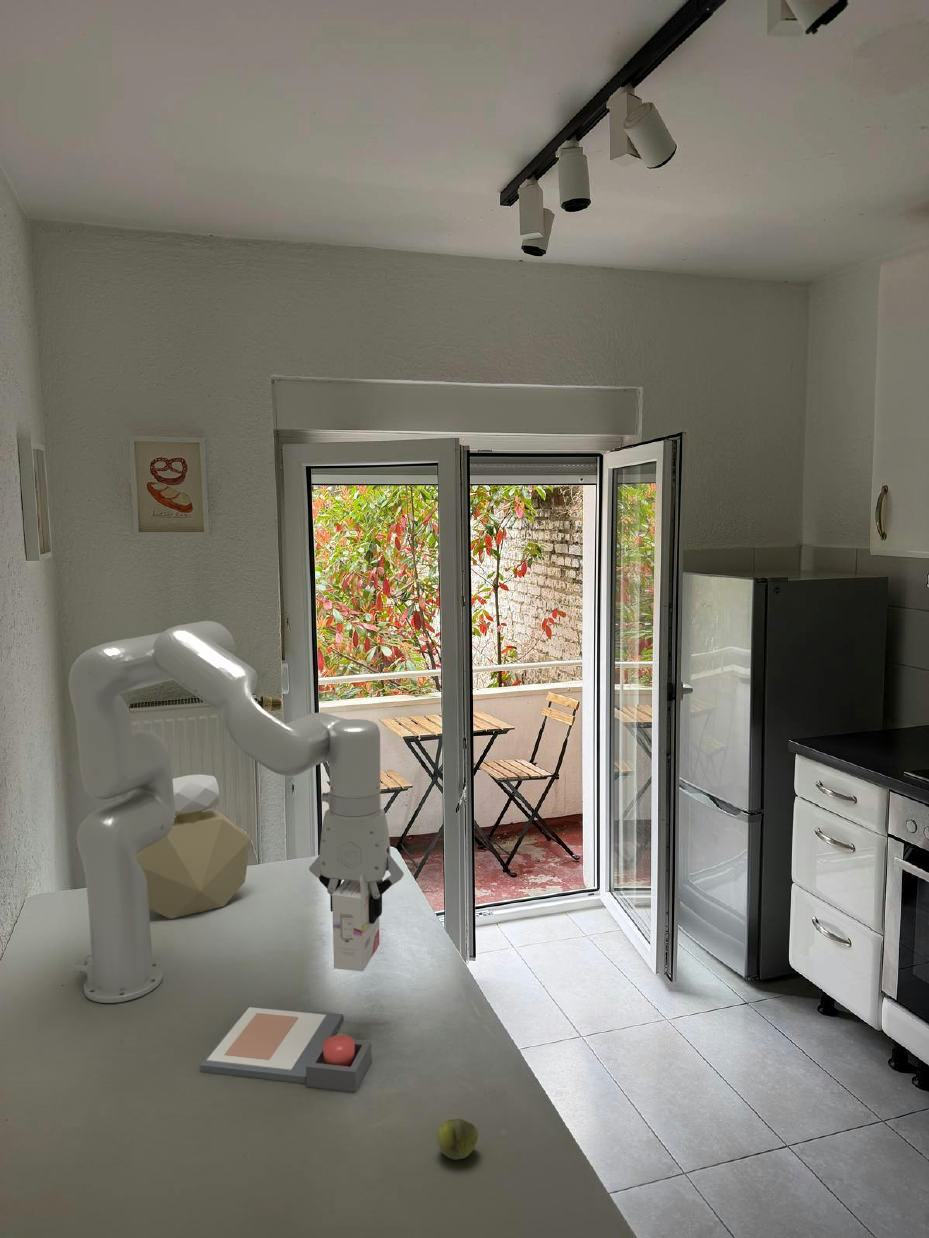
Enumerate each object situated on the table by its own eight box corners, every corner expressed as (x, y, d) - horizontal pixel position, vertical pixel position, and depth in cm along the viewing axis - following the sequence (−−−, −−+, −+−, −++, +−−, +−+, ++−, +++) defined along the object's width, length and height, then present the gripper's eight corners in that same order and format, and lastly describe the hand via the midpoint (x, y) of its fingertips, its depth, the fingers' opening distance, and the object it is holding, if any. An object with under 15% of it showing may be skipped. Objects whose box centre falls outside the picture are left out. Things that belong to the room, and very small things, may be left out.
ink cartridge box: (350, 942, 138) (349, 853, 137) (380, 945, 138) (380, 855, 136) (331, 969, 130) (330, 874, 128) (363, 972, 129) (362, 877, 127)
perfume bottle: (260, 904, 180) (254, 772, 177) (138, 933, 168) (129, 793, 165) (243, 884, 191) (237, 759, 188) (127, 910, 179) (118, 777, 176)
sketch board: (200, 1071, 125) (200, 1062, 125) (249, 1010, 141) (248, 1002, 141) (305, 1083, 122) (305, 1074, 122) (343, 1019, 138) (343, 1011, 137)
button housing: (306, 1086, 121) (305, 1066, 121) (324, 1055, 128) (324, 1036, 128) (356, 1092, 120) (355, 1071, 120) (371, 1060, 127) (371, 1041, 127)
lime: (432, 1154, 108) (431, 1116, 107) (464, 1137, 111) (463, 1100, 110) (452, 1175, 104) (451, 1136, 104) (485, 1158, 107) (484, 1120, 106)
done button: (319, 1071, 122) (318, 1051, 122) (330, 1052, 127) (329, 1033, 126) (349, 1074, 121) (348, 1054, 121) (359, 1055, 126) (358, 1036, 125)
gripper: (292, 806, 129) (294, 923, 131) (403, 815, 126) (403, 934, 128) (311, 791, 136) (312, 902, 138) (416, 798, 133) (416, 912, 135)
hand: (356, 916), depth 133 cm, fingers closed on ink cartridge box, 5 cm apart
